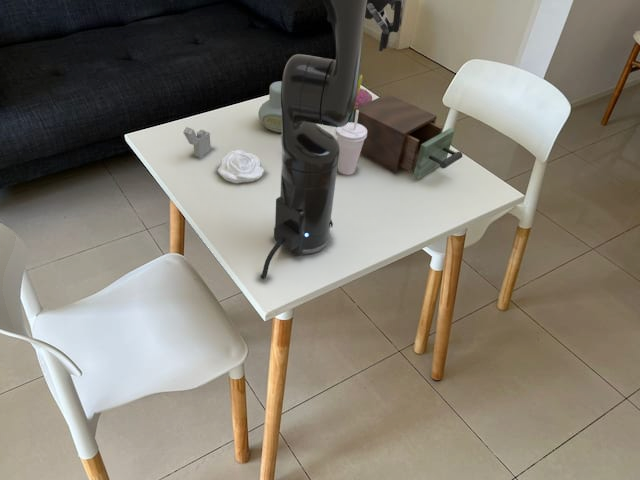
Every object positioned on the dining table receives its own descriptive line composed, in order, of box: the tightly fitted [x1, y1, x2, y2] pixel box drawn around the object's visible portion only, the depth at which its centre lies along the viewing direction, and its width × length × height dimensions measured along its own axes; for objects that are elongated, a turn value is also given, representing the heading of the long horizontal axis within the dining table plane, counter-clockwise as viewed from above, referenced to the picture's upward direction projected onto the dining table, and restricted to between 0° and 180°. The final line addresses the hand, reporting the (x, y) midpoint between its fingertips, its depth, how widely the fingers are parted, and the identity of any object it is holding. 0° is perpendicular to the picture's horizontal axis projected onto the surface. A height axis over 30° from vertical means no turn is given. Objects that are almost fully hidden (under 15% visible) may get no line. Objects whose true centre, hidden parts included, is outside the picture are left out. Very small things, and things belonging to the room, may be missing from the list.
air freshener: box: [258, 80, 282, 133], centre depth 124 cm, size 11×8×10 cm
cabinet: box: [351, 93, 438, 174], centre depth 117 cm, size 14×12×10 cm
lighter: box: [182, 126, 212, 159], centre depth 114 cm, size 7×2×8 cm, turn 151°
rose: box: [217, 149, 265, 184], centre depth 111 cm, size 10×4×10 cm
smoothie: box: [335, 110, 367, 176], centre depth 110 cm, size 6×6×14 cm
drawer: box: [399, 122, 464, 180], centre depth 113 cm, size 17×10×8 cm, turn 43°
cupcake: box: [349, 73, 373, 122], centre depth 128 cm, size 9×8×12 cm
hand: (361, 45), depth 107 cm, fingers open, 8 cm apart
